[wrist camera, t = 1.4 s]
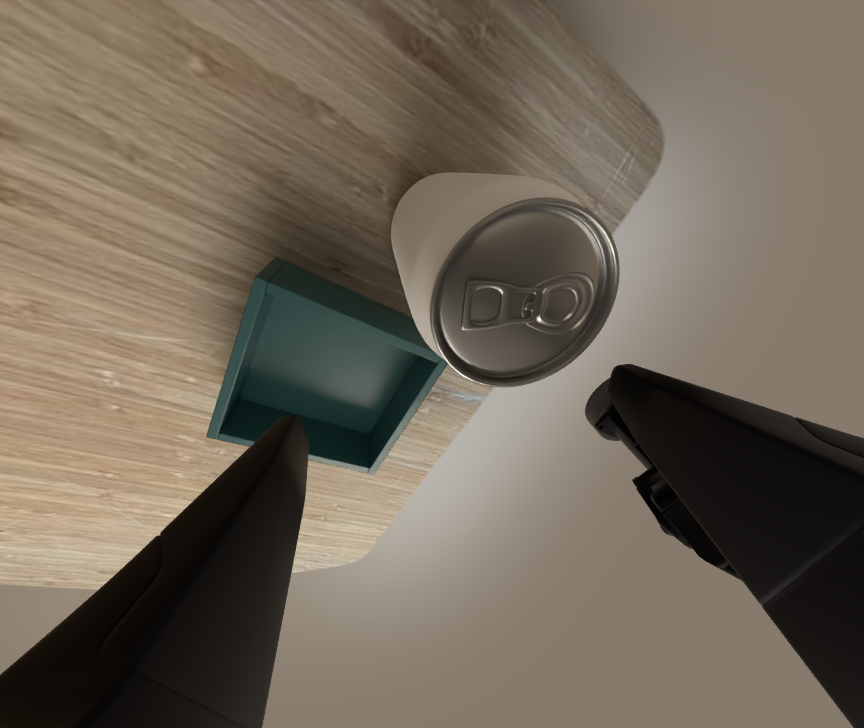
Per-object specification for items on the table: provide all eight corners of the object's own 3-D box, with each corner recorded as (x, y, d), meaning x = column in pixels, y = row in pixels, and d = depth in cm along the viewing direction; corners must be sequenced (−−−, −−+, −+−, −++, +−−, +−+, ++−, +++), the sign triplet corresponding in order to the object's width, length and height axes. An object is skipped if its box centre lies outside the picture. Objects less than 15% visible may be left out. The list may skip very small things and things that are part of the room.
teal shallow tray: (438, 331, 22) (451, 359, 19) (373, 436, 27) (374, 475, 23) (276, 255, 18) (254, 275, 15) (230, 397, 22) (205, 437, 19)
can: (486, 286, 21) (591, 392, 11) (390, 286, 20) (411, 404, 10) (502, 175, 18) (676, 184, 8) (388, 167, 17) (418, 167, 7)
